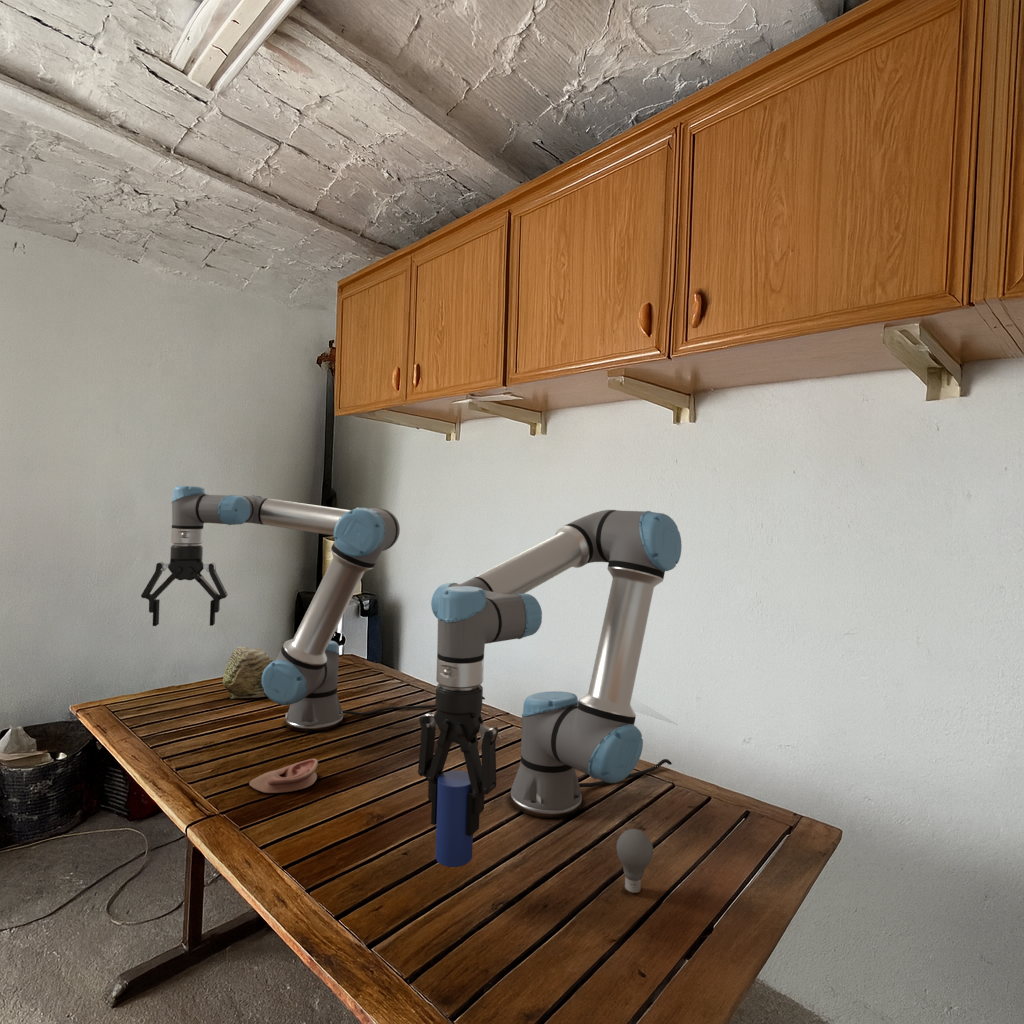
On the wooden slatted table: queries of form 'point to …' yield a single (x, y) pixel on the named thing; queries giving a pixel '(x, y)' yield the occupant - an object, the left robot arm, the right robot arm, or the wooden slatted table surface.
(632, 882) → the light bulb
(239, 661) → the fossil
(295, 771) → the anatomical model
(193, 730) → the wooden slatted table surface
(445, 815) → the cylinder
